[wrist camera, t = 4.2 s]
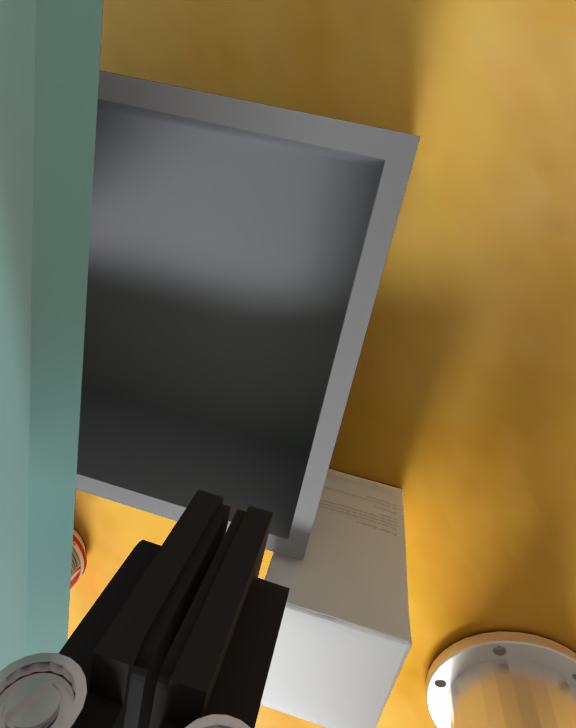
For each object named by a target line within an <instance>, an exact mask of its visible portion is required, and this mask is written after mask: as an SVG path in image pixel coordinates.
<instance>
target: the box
mask: <svg viewBox="0 0 576 728" xmlns="http://www.w3.org/2000/svg"><path fill="white" fill-rule="evenodd" d="M419 139H420V136H417V135H412V134H407V133H402V132H397V131H392V130H387V129H383V128H378V127H373V126H368V125H363V124H358V123H353V122H348V121H344V120H339V119H334V118H329V117H324V116H319V115H314V114H309V113H305V112H300V111H295V110H290V109H285V108H280V107H275V106H270V105H266V104H261V103H256V102H251V101H246V100H241V99H236V98H232V97H227V96H222V95H217V94H212V93H207V92H202V91H197V90H193V89H188V88H183V87H178V86H173V85H168V84H163V83H158V82H154V81H149V80H144V79H139V78H134V77H129V76H124V75H119V74H115V73H110V72H105V71H100V70H99V84H98V102H97V120H96V137H95V155H94V173H93V191H92V209H91V226H90V244H89V262H88V280H87V298H86V315H85V333H84V351H83V369H82V386H81V404H80V422H79V440H78V458H77V475H76V489H77V490H80V491H83V492H86V493H90V494H93V495H96V496H99V497H102V498H105V499H109V500H112V501H115V502H118V503H121V504H124V505H128V506H131V507H134V508H137V509H140V510H143V511H147V512H150V513H153V514H156V515H159V516H162V517H166V518H169V519H172V520H175V521H178V520H179V518H180V517H181V515H182V514H183V512H184V511H185V509H186V508H187V506H188V505H189V503H190V501H191V500H192V498H193V497H194V495H195V494H196V492H197V491H198V490H203V491H206V492H209V493H212V494H216V495H219V496H222V497H223V498H224V502H223V504H224V505H227V506H230V507H231V510H230V515H229V520H228V525H227V529H228V527H229V525H230V523H231V521H232V519H233V517H234V515H235V513H236V511H237V509H240V510H243V511H247V509H248V507H249V505H251V506H254V507H257V508H260V509H263V510H267V511H270V512H273V513H274V514H273V519H272V523H271V527H270V531H269V535H268V539H267V543H266V547H265V549H267V550H270V551H273V552H276V553H279V554H283V555H286V556H289V557H292V558H295V559H298V560H302V561H303V559H304V555H305V552H306V548H307V544H308V541H309V537H310V534H311V530H312V526H313V523H314V519H315V515H316V512H317V508H318V505H319V501H320V497H321V494H322V490H323V487H324V483H325V479H326V476H327V472H328V468H329V465H330V461H331V458H332V454H333V450H334V447H335V443H336V439H337V436H338V432H339V429H340V425H341V421H342V418H343V414H344V410H345V407H346V403H347V400H348V396H349V392H350V389H351V385H352V381H353V378H354V374H355V371H356V367H357V363H358V360H359V356H360V352H361V349H362V345H363V342H364V338H365V334H366V331H367V327H368V323H369V320H370V316H371V313H372V309H373V305H374V302H375V298H376V294H377V291H378V287H379V284H380V280H381V276H382V273H383V269H384V265H385V262H386V258H387V255H388V251H389V247H390V244H391V240H392V237H393V233H394V229H395V226H396V222H397V218H398V215H399V211H400V208H401V204H402V200H403V197H404V193H405V189H406V186H407V182H408V179H409V175H410V171H411V168H412V164H413V160H414V157H415V153H416V150H417V146H418V142H419ZM227 529H226V532H227Z"/></svg>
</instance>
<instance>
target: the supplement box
mask: <svg viewBox="0 0 576 728" xmlns="http://www.w3.org/2000/svg"><path fill="white" fill-rule="evenodd" d="M265 580H266V581H269V582H272V583H275V584H278V585H281V586H284V587H287V588H290V590H289V594H288V598H287V602H286V606H285V610H284V614H283V618H282V622H281V625H280V629H279V633H278V637H277V641H276V645H275V649H274V653H273V657H272V661H271V665H270V669H269V672H268V676H267V680H266V684H265V688H264V692H263V696H262V700H261V704H260V705H263V706H266V707H269V708H272V709H275V710H278V711H281V712H284V713H287V714H289V715H292V716H295V717H298V718H301V719H304V720H307V721H310V722H313V723H316V724H319V725H321V726H324V727H327V728H376V726H377V723H378V721H379V718H380V715H381V713H382V711H383V708H384V706H385V704H386V701H387V699H388V697H389V695H390V692H391V690H392V688H393V686H394V683H395V681H396V679H397V677H398V674H399V672H400V670H401V668H402V666H403V663H404V661H405V659H406V657H407V654H408V652H409V650H410V648H411V646H412V640H411V632H410V621H409V606H408V587H407V566H406V545H405V526H404V513H403V497H402V490H401V489H400V488H396V487H392V486H389V485H385V484H382V483H378V482H375V481H371V480H367V479H364V478H360V477H357V476H353V475H350V474H346V473H342V472H339V471H335V470H332V469H328V472H327V476H326V479H325V483H324V487H323V490H322V494H321V497H320V501H319V505H318V508H317V512H316V515H315V519H314V523H313V526H312V530H311V534H310V537H309V541H308V544H307V548H306V552H305V555H304V559H303V561H302V560H298V559H295V558H292V557H289V556H286V555H283V554H279V553H276V552H274V553H273V556H272V559H271V562H270V565H269V568H268V571H267V574H266V577H265Z"/></svg>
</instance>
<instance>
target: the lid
mask: <svg viewBox="0 0 576 728" xmlns="http://www.w3.org/2000/svg"><path fill="white" fill-rule="evenodd" d="M102 13H103V0H0V671H1V670H2V669H4V668H5V667H6V666H8V665H9V664H10V663H12V662H15V661H17V660H19V659H21V658H23V657H25V656H29V655H33V654H37V653H59V652H60V650H61V649H62V648H63V646H64V645H65V643H66V642H67V635H68V618H69V600H70V582H71V564H72V546H73V529H74V511H75V493H76V475H77V458H78V440H79V422H80V404H81V386H82V369H83V351H84V333H85V315H86V298H87V280H88V262H89V244H90V226H91V209H92V191H93V173H94V155H95V137H96V120H97V102H98V84H99V66H100V49H101V31H102Z"/></svg>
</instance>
